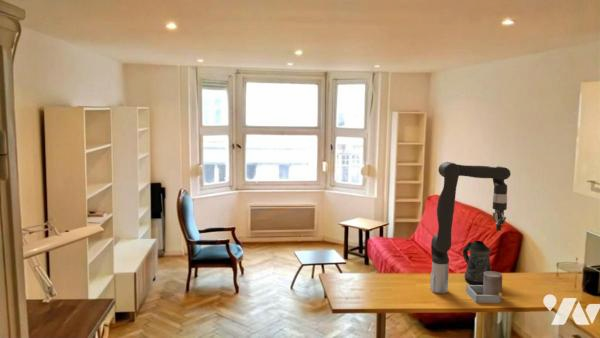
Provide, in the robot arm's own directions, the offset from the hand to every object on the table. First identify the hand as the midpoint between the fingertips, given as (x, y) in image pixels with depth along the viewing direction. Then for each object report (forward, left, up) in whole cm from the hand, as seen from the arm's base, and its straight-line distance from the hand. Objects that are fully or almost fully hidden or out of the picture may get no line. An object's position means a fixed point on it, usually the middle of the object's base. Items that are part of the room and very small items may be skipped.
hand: (498, 230), depth 257 cm
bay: (-12, -13, -35) cm, 39 cm away
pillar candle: (-7, -13, -35) cm, 38 cm away
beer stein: (-7, +12, -35) cm, 38 cm away
